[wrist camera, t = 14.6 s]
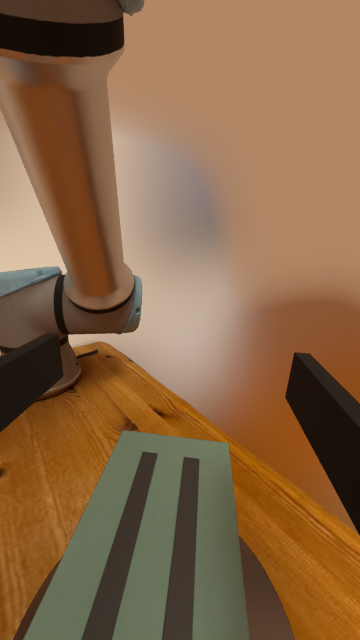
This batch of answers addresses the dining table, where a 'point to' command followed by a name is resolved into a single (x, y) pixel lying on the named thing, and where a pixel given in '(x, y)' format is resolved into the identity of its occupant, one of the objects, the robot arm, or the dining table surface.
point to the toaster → (159, 555)
